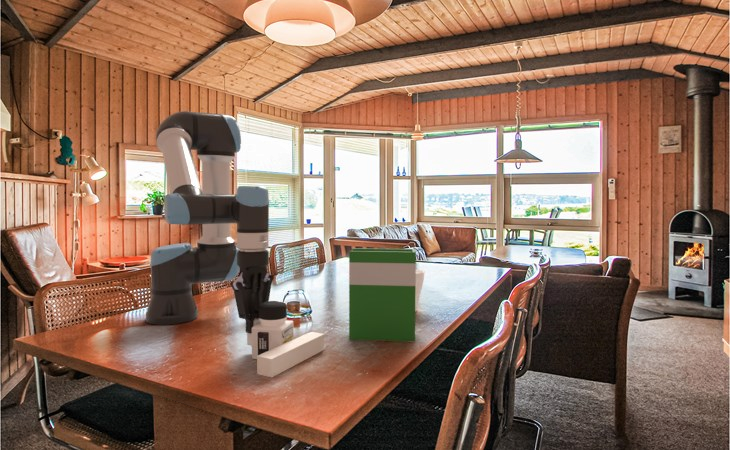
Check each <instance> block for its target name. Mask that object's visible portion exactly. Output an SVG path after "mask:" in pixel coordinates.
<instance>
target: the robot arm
mask: <svg viewBox="0 0 730 450" xmlns="http://www.w3.org/2000/svg"><path fill="white" fill-rule="evenodd" d="M241 135H242V134H241V129H240V127H239V123H238V121H237V119H236V118H234V117H233V116H232V115H227V114H221V113H212V112H211V113H209V112H197V111H191V110H190V111H188V110H184V111H183V110H181V111H177V112H174V113H173V114H170V115H168V116H167V117H166V118H165V119H163V120H162V122H161V123H160V124H159V126H158V127H157V131H156V134H155V140H156V145H157V149H158V150H159V151H160V152H161V153H162V159H163V163H164V167H165V168H164V169H165V172H166V177H167V183H168V187H169V193H168V194H166V195H165V196H164V201H163V202H164V203H163V204H164V205H163V209H164V219H165V221H166V224H169V225H181V226H188V225H189V226H190V225H202V236H201V237H200V238H199V239H198V240H197V246H196V247H192V245H191V243H189V242H183V243H173V244H167V245H162V246H158V247H156V248H154V249H153V250H152V251H151V253H150V263H149V266H150V277H151V278H150V280H151V282H150V284H151V285H150V289H151V290H150V292H151V297H150V300H149V303H148V307H147V311H146V312H145V322H146V323H148V324H149V325H157V326H160V325H162V326H163V325H164V326H167V325H169V326H170V325H178V324H183V323H187V322H191V321H194V320H196V319H197V318H198V317H199V308H198V307H197V304H196V302H195V298H194V295H193V292H192V285H194V284H207V283H216V282H217V283H218V282H220V283H222V282H225V281H231V282H230V286H231V288H232V291H233V293H234V298H235V304H236V310H237V314H238V318H239V319H242V320H244V321H245V333H246V341H247V343H246V345H247V346H251V347H252V327H253V326H255V325H257V324H258V323H260V321H259V305H260V304H261V303H263V302H266V301H270V296H271V295H270V294H271V288H272V283H273V281H274V278H275V275H274V274H270V273H269V272H268V269H267V266H268V265H269V264H270V252H269V250H268V248H269V232H270V231H269V228H270V227H269V226H270V225H269V224H270V222H269V221H270V218H269V217H270V216H269V214H270V213H269V212H270V211H269V210H270V209H269V208H270V207H269V206H270V205H269V204H270V198H269V190H268V189H269V188H267V187H266V186H262V185H240V186H238V187H236V193H232V194H231V162H232V161H233V160H234V159H235V158H236V153H239V152H240V151H241V148H242V147H241V144H242V136H241ZM192 151H196V157H197V158H198V159H199V160H200V161H201V180H202V181H201V183H200V179H199V176H198V171H197V168H196V165H195V164H196V163H195V161H194V157H193V153H192ZM231 224H236V240H235V239H234V238H233V237H232V236H231ZM237 276H238V277H237ZM235 278H236V280H234V279H235Z"/></svg>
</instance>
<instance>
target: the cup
mask: <svg viewBox="0 0 730 450" xmlns="http://www.w3.org/2000/svg"><path fill="white" fill-rule="evenodd" d="M424 278H425V271H424V270H422V269H416V283H415V313H416V312H417V311H418V308H419V307H418V306H419V302H420V301H419V300H420V297H421V292H422V289H423V285H424V280H425V279H424Z"/></svg>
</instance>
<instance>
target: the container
mask: <svg viewBox="0 0 730 450" xmlns="http://www.w3.org/2000/svg"><path fill="white" fill-rule="evenodd" d="M287 305H288V304H287V303H286V302H285V301H282V300H269V301H266V302H263V303H261V304H260V305H259V321H260V323H258V324H257V325H255V326H253V327H252V346H251V358H252V360H257V356H258V355H260V354H262V353H265V352H267V351H269V350H271V349H274V348H276V347H278V346H280V345H283V344H285V343H287V342H289V341H292V340H294V339H295V338H294V333H295V332H294V330H295V329H294V326H295V325H294V321H293V320H288V309H287Z"/></svg>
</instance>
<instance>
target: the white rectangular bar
mask: <svg viewBox="0 0 730 450" xmlns="http://www.w3.org/2000/svg"><path fill="white" fill-rule="evenodd" d="M324 350H325V333H321V332H316V331H315V332H314V331H310V332H307V333H305V334H303V335H301V336H299V337H297V338H294V340H292V341H289V342H287V343H285V344H283V345H280V346H278V347H276V348H274V349H271V350H269V351H267V352H265V353H262V354H260V355H258V356H257V359H256V368H257V369H256V371H257V372H256V374H257V375H260V376H264V377H267V378H274V377H276V376H278V375H279V374H282V373H283V372H285V371H287V370H289V369H291V368H292V367H294V366H296V365H298V364H300V363H302V362H304V361H305V360H307V359H310V358H312V357H313V356H315V355H317V354H319V353H321V352H323V351H324Z"/></svg>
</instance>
